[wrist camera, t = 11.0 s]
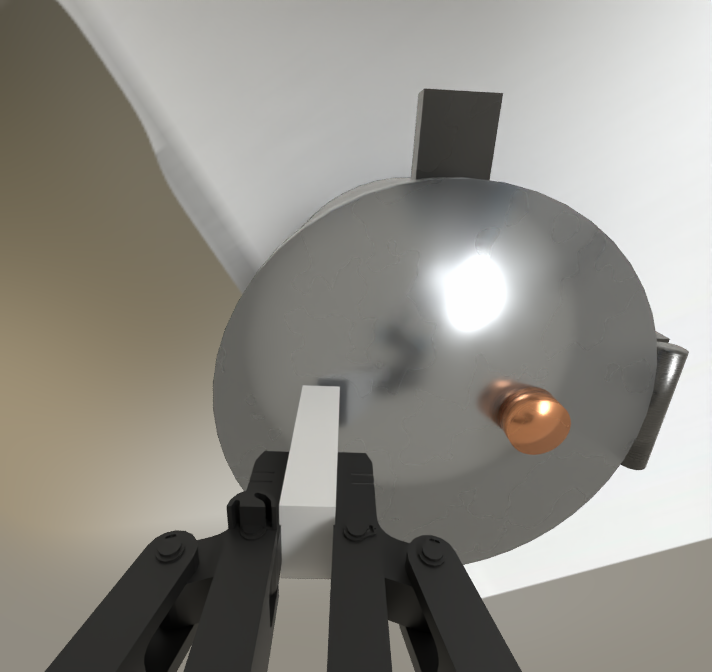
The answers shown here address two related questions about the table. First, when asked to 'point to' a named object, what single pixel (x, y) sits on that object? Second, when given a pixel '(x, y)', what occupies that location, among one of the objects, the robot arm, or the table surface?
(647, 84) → the table surface
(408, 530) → the lid
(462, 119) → the pot
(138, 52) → the table surface
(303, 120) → the table surface
